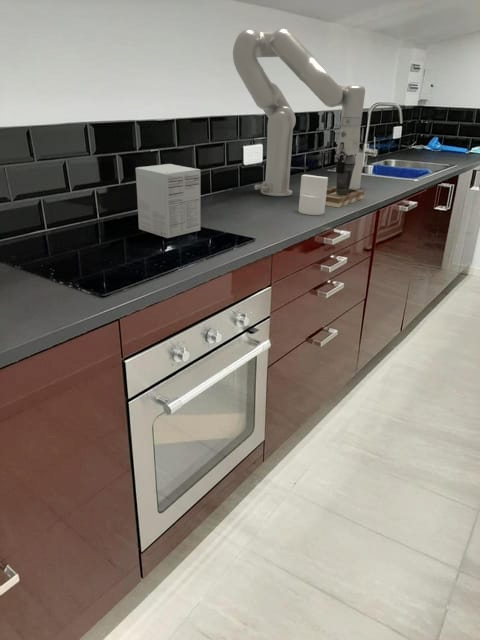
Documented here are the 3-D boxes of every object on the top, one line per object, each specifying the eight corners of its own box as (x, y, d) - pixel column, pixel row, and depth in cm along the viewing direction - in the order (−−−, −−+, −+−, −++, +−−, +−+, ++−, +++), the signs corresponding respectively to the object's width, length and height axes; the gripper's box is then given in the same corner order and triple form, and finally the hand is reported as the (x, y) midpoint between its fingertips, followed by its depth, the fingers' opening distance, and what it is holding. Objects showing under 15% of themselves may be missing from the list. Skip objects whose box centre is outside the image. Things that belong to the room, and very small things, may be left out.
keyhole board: (338, 207, 179) (339, 198, 177) (307, 202, 185) (308, 193, 184) (363, 198, 195) (364, 190, 193) (333, 193, 202) (334, 185, 200)
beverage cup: (337, 195, 189) (344, 140, 180) (329, 191, 195) (335, 138, 187) (354, 195, 191) (362, 140, 182) (346, 191, 197) (353, 138, 188)
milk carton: (357, 186, 219) (363, 141, 211) (359, 189, 212) (366, 143, 204) (341, 185, 219) (347, 140, 211) (342, 188, 213) (348, 142, 205)
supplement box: (201, 230, 145) (202, 169, 137) (167, 239, 136) (165, 173, 128) (172, 221, 152) (170, 163, 145) (137, 229, 143) (134, 167, 136)
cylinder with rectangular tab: (328, 211, 173) (332, 176, 167) (318, 216, 166) (322, 179, 160) (304, 207, 177) (307, 173, 172) (294, 212, 170) (297, 176, 164)
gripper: (349, 124, 173) (343, 175, 181) (369, 122, 186) (363, 170, 194) (330, 122, 177) (325, 173, 185) (351, 121, 190) (345, 168, 198)
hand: (344, 171), depth 189 cm, fingers closed on beverage cup, 7 cm apart
